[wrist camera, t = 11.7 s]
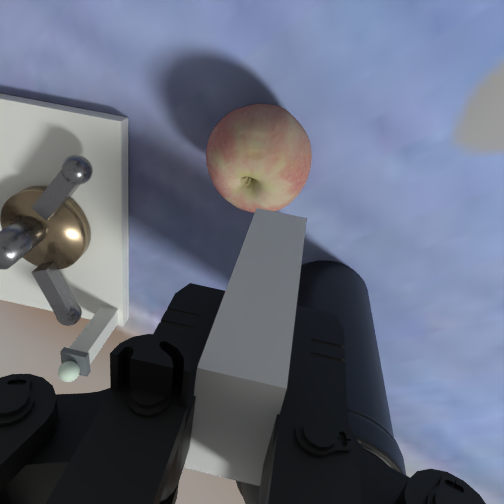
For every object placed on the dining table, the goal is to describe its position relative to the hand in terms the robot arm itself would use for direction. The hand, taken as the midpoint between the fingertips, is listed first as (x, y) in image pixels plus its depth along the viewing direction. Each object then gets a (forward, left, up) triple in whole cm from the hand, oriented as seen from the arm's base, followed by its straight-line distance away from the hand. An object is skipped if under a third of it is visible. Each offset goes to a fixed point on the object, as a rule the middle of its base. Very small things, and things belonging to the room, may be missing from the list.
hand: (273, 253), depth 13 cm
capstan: (+15, -25, -23) cm, 37 cm away
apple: (+4, -3, -25) cm, 25 cm away
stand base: (+15, -23, -24) cm, 37 cm away
